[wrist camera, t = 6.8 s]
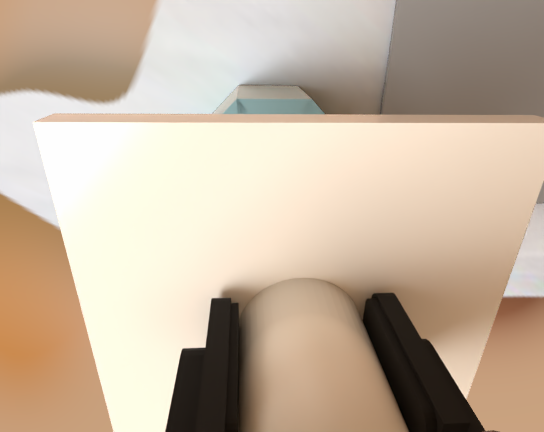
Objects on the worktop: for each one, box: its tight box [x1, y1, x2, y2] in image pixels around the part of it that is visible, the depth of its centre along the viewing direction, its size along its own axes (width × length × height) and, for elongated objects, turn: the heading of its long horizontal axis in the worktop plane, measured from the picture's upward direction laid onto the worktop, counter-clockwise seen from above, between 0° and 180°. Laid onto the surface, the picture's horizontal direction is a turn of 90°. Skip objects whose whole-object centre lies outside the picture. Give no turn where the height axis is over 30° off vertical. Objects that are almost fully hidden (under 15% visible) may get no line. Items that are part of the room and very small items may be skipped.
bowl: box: [212, 85, 325, 114], centre depth 24 cm, size 10×10×6 cm
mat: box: [380, 0, 544, 204], centre depth 26 cm, size 16×16×1 cm
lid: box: [33, 114, 544, 432], centre depth 9 cm, size 12×12×6 cm
